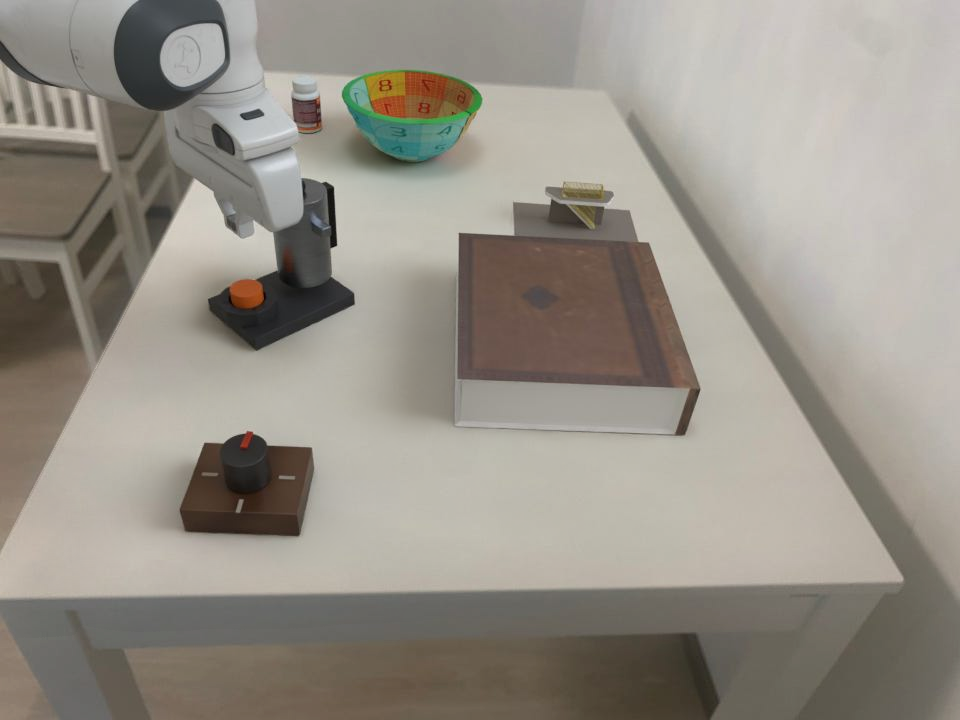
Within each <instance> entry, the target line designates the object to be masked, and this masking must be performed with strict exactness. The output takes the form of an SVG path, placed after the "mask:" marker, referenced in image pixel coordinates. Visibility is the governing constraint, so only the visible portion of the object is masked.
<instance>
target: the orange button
mask: <svg viewBox="0 0 960 720" xmlns="http://www.w3.org/2000/svg"><path fill="white" fill-rule="evenodd" d="M230 295H231V301H232V304H233V305H234V306H235V307H238V308H242V309H245V308H254V307H256V306H258V305H261V304H262V303H263V301H264V296H263V288H262V285H261V283H260V282H258V281H256V280H255V279H252V278H246V279H240V280H237V281H235V282H233V283H231V285H230Z"/></svg>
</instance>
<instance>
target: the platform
mask: <svg viewBox="0 0 960 720" xmlns="http://www.w3.org/2000/svg"><path fill="white" fill-rule="evenodd" d="M562 183H563V184H562V187H559V186H545V188H544V195H545V196H547V197H548V198H550V204H546V203H533V202H531V203H530V202H516V201H514V202H513V220H514V236H532V237H551V238H571V239H590V240H609V241H629V242H639V239H638V235H637V231H636V228H635V225H634V221H633V217H632V214H631V213H632V212H631V210H630V209H617V208H605V207H608V206H609V205H610V204H611V203H612V202H613V201H614V197H615V195H614V192H613V191H611V190H605V187H604V183H593V182H579V181H566V180H565V181H563V182H562Z"/></svg>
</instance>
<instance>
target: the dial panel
mask: <svg viewBox="0 0 960 720" xmlns="http://www.w3.org/2000/svg"><path fill="white" fill-rule="evenodd" d="M224 443H225V442H223V443H222V442H204V443H203V445H202V447H201V451H200V453H199V456H198V459H197V461H196V463H195V466H194V469H193V472H192V475H191V478H190V480H189V483H188V485H187V488H186V491H185V493H184V496H183V499H182V501H181V504H180V507H179V510H178V511H179V514H180V519H181V522H182V525H183V529H184V531H185V532H187V533H188V532H189V533H190V532H191V533H216V534H217V533H218V534H240V535H268V536H269V535H270V536H290V537H291V536H294V537H300V535H301V531H302V527H303V523H304V518H305V513H306V509H307V504H308V500H309V494H310V491H311V486H312V480H313V476H314V471H315V464H314V454H313V447H311V446H291V445H289V446H288V445H271V444H270V445H268V444H267V446H268V453H269V459H270V466H271V473H272V474H271V479H270V481H269V482H268V484H267V485H266V486H265V487H263V488H262V489H260V490H258V491H256V492H252V493H237V492H235V491H233V490H231V489H230V488H229V487H228V486H227V484H226V482H225V477H224V472H223V468H222V463H221V458H220V449H221V447H222V445H223V444H224Z"/></svg>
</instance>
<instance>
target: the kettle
mask: <svg viewBox="0 0 960 720" xmlns="http://www.w3.org/2000/svg"><path fill="white" fill-rule="evenodd" d="M301 180H302V191H303V216H302V218H301V219H300V221H299V222H298V223H297V224H295V225H293V226H291V227H288V228H286V229H283V230H280V231H277V232H272V235H273V244H274V249H275V250H274V253H275V261H276V269H277V270H278V277H279V279H280V280H281V281H282V282H283V283H285V284H287V285H289V286H292V287H297V288H310V287H315V286H318V285H321V284H323V283H325V282H326V281H327V280H329V278H330V277H332V274H333V267H332V264H333V263H332V251H331V249H333V248H335V247H336V248H337V247H338V233H337V231H338V230H337V217H336V216H337V215H336V214H337V213H336V198H335V197H336V196H335V186H334V185H333V184H331V183H329V182H327V181H322V182H320V181H319V180H316V179H312V178H306V177H301ZM277 270H276V271H277Z"/></svg>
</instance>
